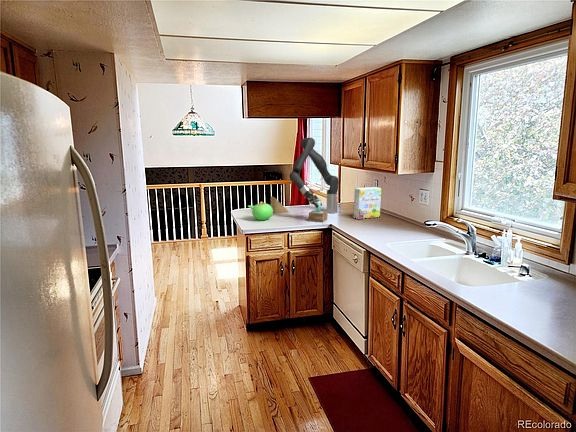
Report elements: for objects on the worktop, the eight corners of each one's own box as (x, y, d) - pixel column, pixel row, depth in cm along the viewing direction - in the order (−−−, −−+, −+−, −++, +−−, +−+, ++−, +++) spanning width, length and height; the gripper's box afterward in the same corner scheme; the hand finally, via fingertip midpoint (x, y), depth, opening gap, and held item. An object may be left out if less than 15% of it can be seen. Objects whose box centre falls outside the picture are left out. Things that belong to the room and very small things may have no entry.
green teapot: (261, 223, 316) (261, 204, 313) (247, 220, 327) (246, 202, 324) (277, 219, 330) (276, 201, 327) (262, 216, 340) (262, 199, 337)
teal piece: (315, 211, 329) (315, 198, 327) (324, 212, 326) (324, 198, 324) (311, 213, 322) (312, 199, 320) (321, 214, 319) (321, 200, 317)
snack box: (358, 220, 326) (359, 189, 320) (352, 218, 333) (353, 187, 328) (380, 218, 333) (382, 187, 328) (374, 216, 341) (375, 186, 336)
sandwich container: (290, 212, 358) (290, 196, 355) (274, 214, 352) (274, 197, 349) (285, 211, 366) (285, 194, 363) (270, 212, 359) (270, 196, 356)
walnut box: (313, 218, 333) (313, 210, 332) (327, 219, 328) (327, 211, 327) (308, 221, 323) (308, 212, 321) (322, 222, 318) (322, 213, 316)
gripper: (306, 189, 317) (319, 204, 315) (312, 187, 330) (325, 202, 327) (300, 195, 320) (313, 210, 318) (306, 193, 333) (319, 207, 331)
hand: (319, 206), depth 323 cm, fingers open, 8 cm apart
